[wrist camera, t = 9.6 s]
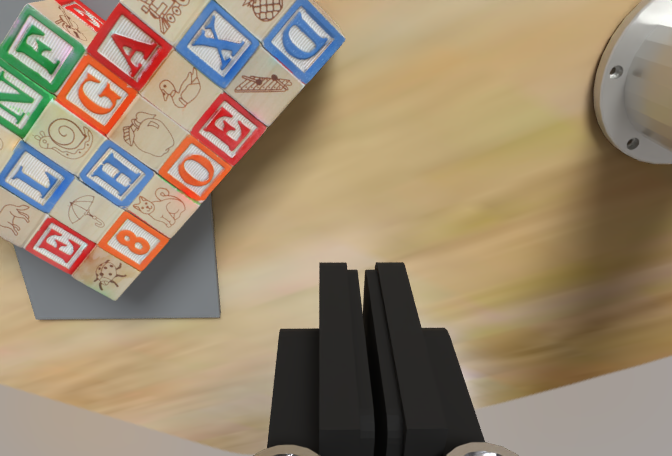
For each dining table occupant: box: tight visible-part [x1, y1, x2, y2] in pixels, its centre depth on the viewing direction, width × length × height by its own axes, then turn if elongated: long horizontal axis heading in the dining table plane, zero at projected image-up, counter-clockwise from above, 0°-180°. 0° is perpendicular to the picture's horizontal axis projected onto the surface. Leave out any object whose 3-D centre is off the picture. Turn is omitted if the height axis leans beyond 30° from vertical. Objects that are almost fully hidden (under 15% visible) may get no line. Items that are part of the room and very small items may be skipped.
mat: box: [0, 0, 221, 319], centre depth 35 cm, size 14×24×1 cm, turn 178°
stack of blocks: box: [0, 0, 345, 301], centre depth 29 cm, size 21×6×12 cm
